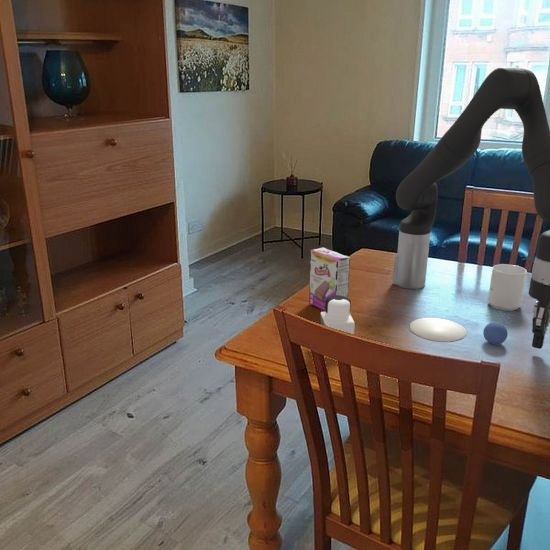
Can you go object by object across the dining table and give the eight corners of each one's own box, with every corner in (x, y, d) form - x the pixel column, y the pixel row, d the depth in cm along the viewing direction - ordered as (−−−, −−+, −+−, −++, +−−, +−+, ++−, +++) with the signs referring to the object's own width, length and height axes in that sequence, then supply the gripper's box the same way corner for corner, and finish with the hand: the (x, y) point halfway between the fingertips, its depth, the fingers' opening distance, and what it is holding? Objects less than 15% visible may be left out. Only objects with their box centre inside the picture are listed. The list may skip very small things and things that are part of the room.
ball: (479, 344, 136) (482, 324, 134) (485, 336, 141) (488, 316, 139) (502, 350, 133) (506, 329, 132) (508, 342, 138) (511, 321, 136)
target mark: (401, 332, 142) (401, 331, 142) (420, 314, 153) (420, 313, 153) (456, 346, 135) (456, 345, 135) (472, 326, 146) (472, 325, 146)
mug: (523, 313, 155) (530, 275, 151) (490, 310, 156) (495, 273, 153) (514, 297, 166) (520, 261, 162) (483, 295, 168) (488, 259, 164)
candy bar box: (307, 304, 159) (309, 249, 154) (320, 300, 162) (323, 246, 157) (334, 317, 151) (337, 259, 146) (348, 313, 154) (351, 256, 148)
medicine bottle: (319, 337, 139) (320, 292, 135) (347, 336, 140) (349, 292, 136) (323, 350, 133) (325, 304, 129) (353, 350, 133) (356, 303, 129)
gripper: (536, 266, 133) (525, 333, 139) (526, 282, 122) (514, 353, 128) (571, 272, 129) (558, 340, 135) (563, 289, 119) (549, 362, 124)
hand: (537, 346), depth 131 cm, fingers closed
